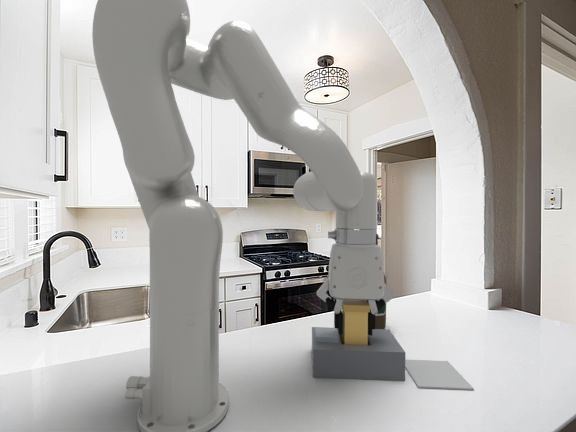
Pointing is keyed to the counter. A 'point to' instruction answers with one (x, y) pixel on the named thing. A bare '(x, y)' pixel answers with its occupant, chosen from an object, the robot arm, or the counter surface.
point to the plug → (355, 322)
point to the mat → (436, 375)
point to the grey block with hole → (357, 356)
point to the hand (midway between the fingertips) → (354, 331)
